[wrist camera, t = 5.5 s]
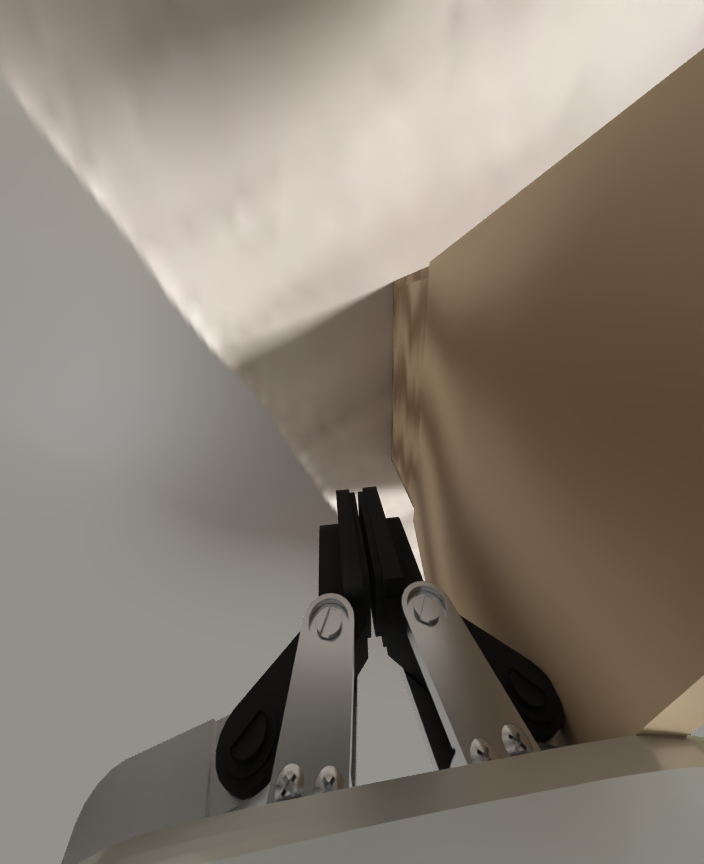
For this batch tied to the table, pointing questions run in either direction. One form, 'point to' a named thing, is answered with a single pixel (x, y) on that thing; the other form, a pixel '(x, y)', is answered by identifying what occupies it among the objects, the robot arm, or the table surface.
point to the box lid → (580, 421)
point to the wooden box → (408, 373)
